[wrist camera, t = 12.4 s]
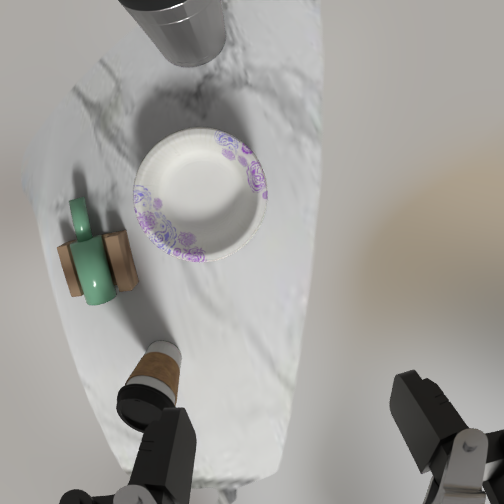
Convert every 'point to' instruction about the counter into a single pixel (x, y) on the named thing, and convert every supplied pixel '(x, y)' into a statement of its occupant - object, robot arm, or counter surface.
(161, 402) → the coffee cup
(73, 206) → the bottle
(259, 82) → the counter surface
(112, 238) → the cradle
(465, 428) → the robot arm
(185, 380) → the counter surface
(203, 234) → the paper bowls
